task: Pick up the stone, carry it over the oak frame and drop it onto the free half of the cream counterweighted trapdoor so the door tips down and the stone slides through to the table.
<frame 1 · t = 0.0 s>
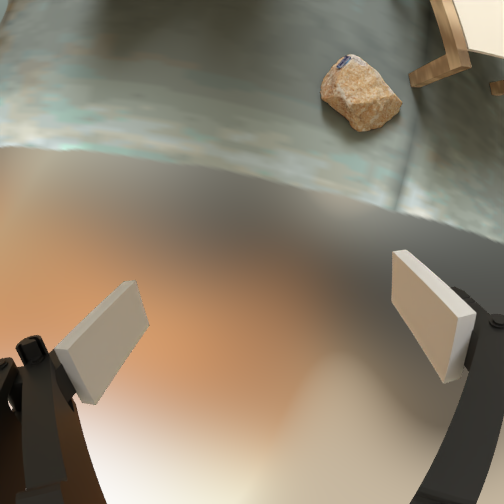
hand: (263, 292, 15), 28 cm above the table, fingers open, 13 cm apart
stone: (359, 97, 37), on the table
frame: (444, 29, 31), on the table
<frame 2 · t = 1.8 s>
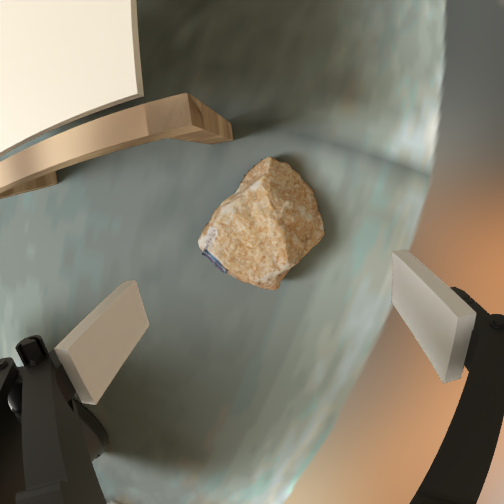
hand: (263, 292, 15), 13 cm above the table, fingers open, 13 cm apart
stone: (266, 221, 28), on the table
trapdoor: (7, 75, 14), point 11 cm above the table, hinge at 0.0°
frame: (113, 78, 24), on the table
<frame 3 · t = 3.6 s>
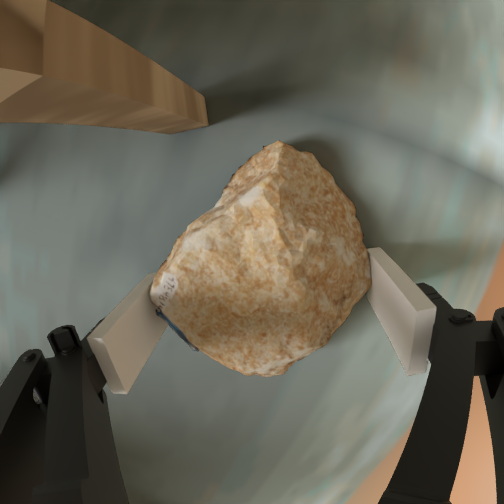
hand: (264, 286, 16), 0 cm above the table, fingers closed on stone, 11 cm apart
stone: (269, 256, 16), on the table, touching gripper
frame: (37, 47, 13), on the table
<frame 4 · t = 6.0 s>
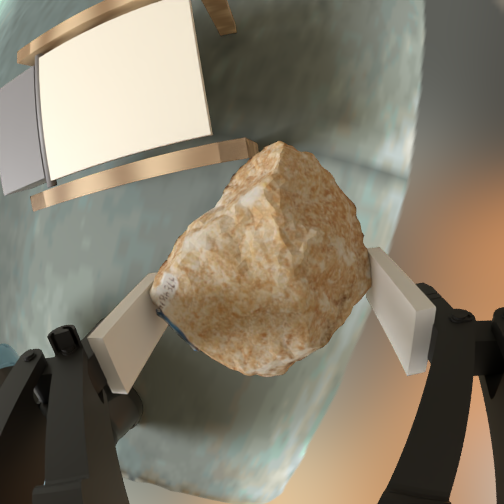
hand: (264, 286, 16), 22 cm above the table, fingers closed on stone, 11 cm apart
stone: (269, 256, 16), point 21 cm above the table, touching gripper
trapdoor: (86, 102, 24), point 11 cm above the table, hinge at 0.0°
frame: (161, 104, 34), on the table
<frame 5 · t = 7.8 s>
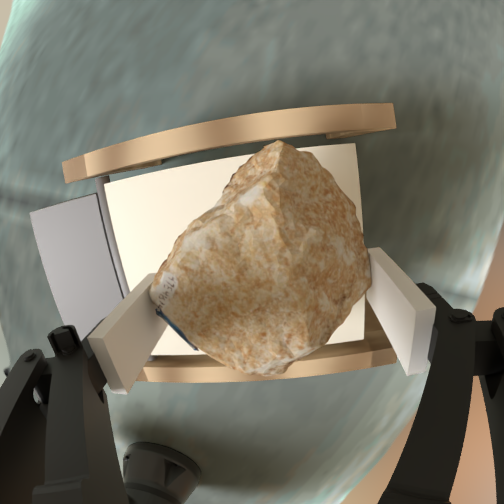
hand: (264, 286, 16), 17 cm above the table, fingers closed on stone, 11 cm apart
stone: (269, 255, 16), point 16 cm above the table, touching gripper
trapdoor: (188, 259, 22), point 11 cm above the table, hinge at 0.0°
frame: (252, 219, 32), on the table
when the fingers open (17 cm above the table, at t = 8.5 s): stone drops 13 cm, resting on trapdoor.
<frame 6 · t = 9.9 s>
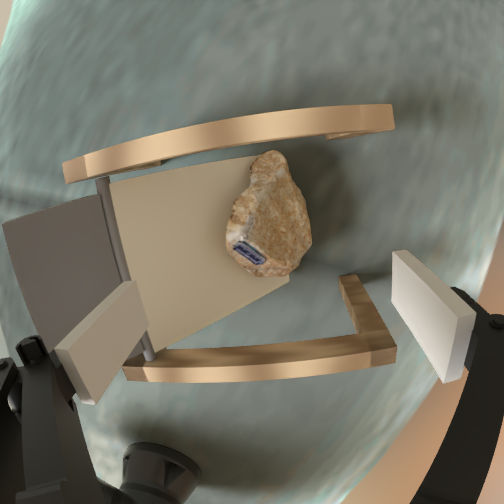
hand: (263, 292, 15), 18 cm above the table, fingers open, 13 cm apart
stone: (258, 214, 28), point 3 cm above the table, touching trapdoor
trapdoor: (162, 253, 25), point 8 cm above the table, hinge at -47.4°, touching stone
frame: (251, 220, 32), on the table
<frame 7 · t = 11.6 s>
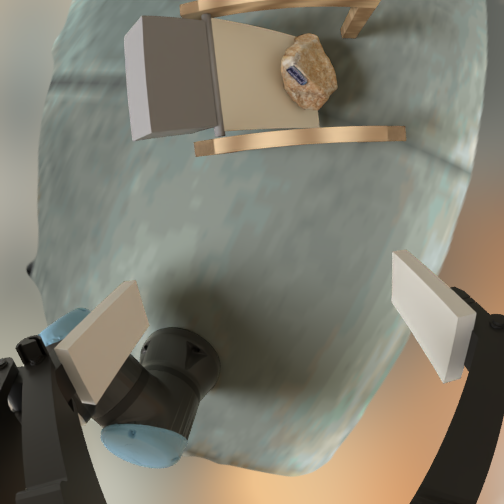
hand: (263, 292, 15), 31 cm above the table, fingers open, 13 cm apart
stone: (298, 71, 35), point 3 cm above the table, touching trapdoor
trapdoor: (233, 78, 31), point 8 cm above the table, hinge at -47.1°, touching stone
frame: (290, 85, 38), on the table
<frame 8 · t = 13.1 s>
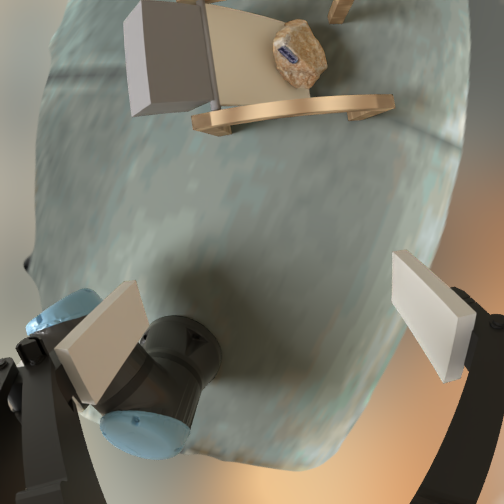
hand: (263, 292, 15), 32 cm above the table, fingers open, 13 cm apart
stone: (289, 54, 35), point 3 cm above the table, touching trapdoor
trapdoor: (227, 59, 32), point 8 cm above the table, hinge at -46.9°, touching stone
frame: (281, 69, 39), on the table
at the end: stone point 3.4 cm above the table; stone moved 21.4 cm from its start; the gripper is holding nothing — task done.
